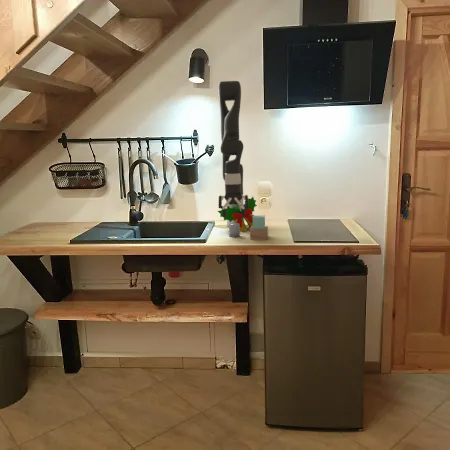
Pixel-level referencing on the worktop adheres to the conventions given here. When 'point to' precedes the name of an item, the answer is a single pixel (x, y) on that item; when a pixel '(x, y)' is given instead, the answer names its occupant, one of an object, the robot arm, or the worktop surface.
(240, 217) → the ornament
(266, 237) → the plinth
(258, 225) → the cube
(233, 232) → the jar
